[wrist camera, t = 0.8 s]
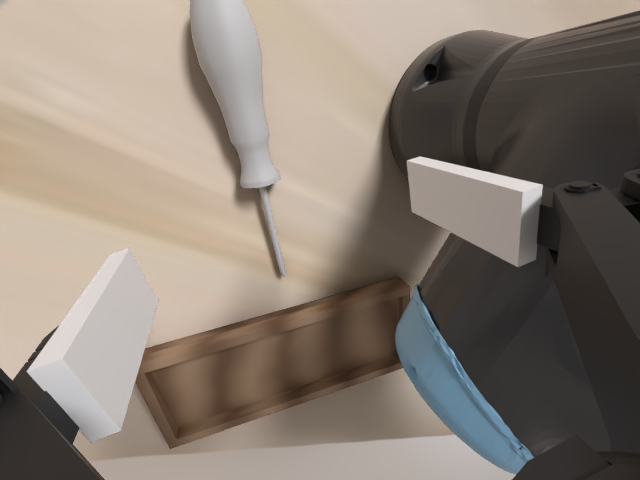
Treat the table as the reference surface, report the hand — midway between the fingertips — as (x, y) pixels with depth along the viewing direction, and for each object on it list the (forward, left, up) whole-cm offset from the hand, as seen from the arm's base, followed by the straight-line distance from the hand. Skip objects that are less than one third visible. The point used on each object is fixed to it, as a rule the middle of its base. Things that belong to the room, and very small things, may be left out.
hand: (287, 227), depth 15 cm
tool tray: (+1, +22, -16) cm, 27 cm away
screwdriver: (0, -1, -17) cm, 17 cm away
